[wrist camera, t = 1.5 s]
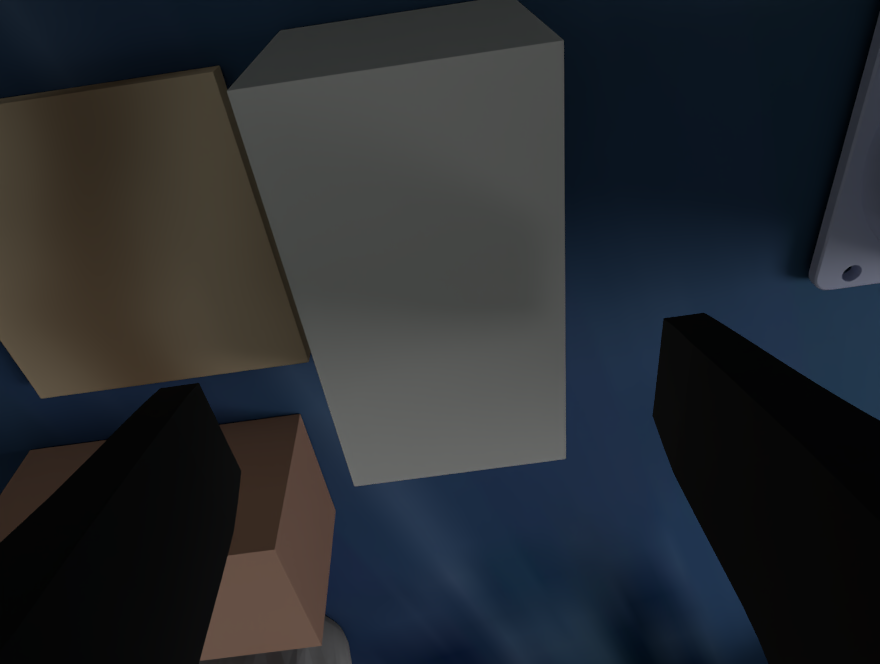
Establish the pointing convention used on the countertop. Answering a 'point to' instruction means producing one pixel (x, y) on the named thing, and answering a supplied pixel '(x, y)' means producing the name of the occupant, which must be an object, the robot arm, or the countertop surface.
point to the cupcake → (301, 651)
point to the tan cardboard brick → (238, 534)
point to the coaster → (136, 238)
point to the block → (421, 228)
